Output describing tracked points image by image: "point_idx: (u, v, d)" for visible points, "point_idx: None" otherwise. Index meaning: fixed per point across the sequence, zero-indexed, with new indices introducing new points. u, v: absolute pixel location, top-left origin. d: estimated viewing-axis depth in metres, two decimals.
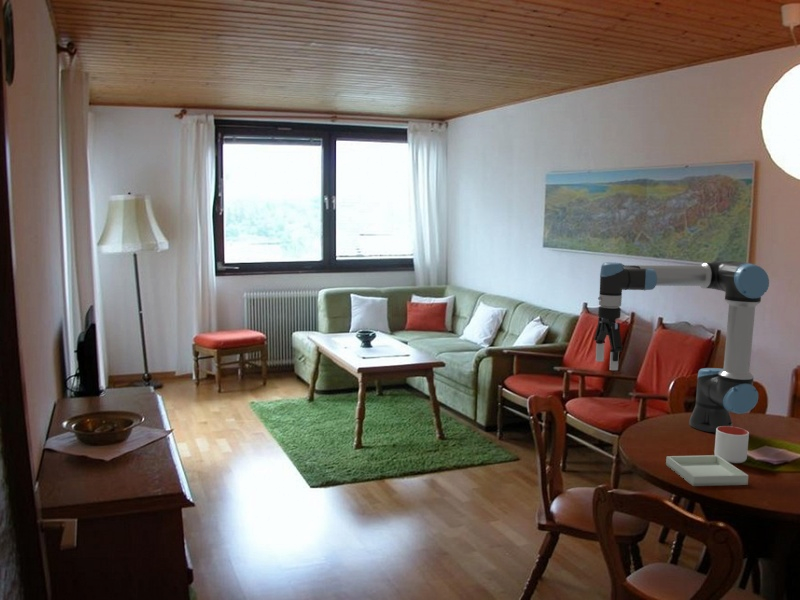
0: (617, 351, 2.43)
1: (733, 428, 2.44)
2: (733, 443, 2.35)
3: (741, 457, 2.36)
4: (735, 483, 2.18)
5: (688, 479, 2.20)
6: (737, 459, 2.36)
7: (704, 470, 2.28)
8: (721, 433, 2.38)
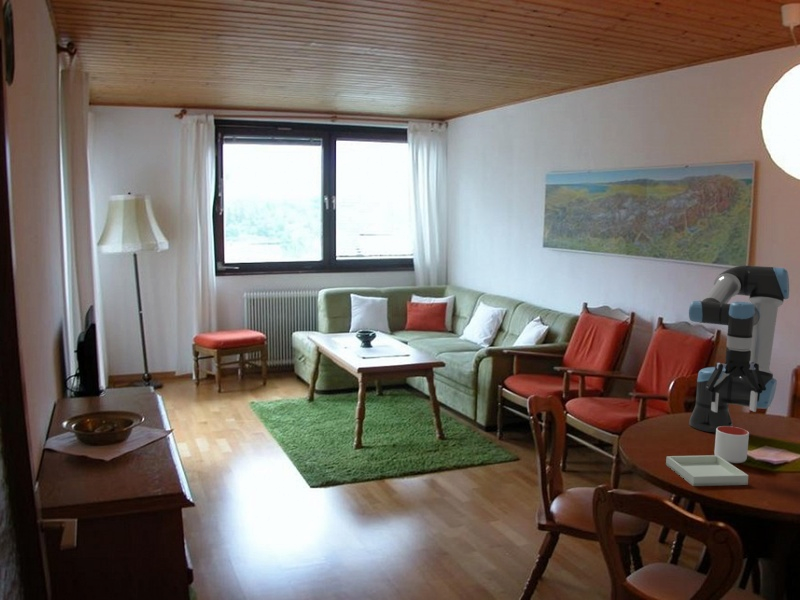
0: (708, 390, 2.37)
1: (733, 428, 2.44)
2: (733, 443, 2.35)
3: (741, 457, 2.36)
4: (735, 483, 2.18)
5: (688, 479, 2.20)
6: (737, 459, 2.36)
7: (704, 470, 2.28)
8: (721, 433, 2.38)
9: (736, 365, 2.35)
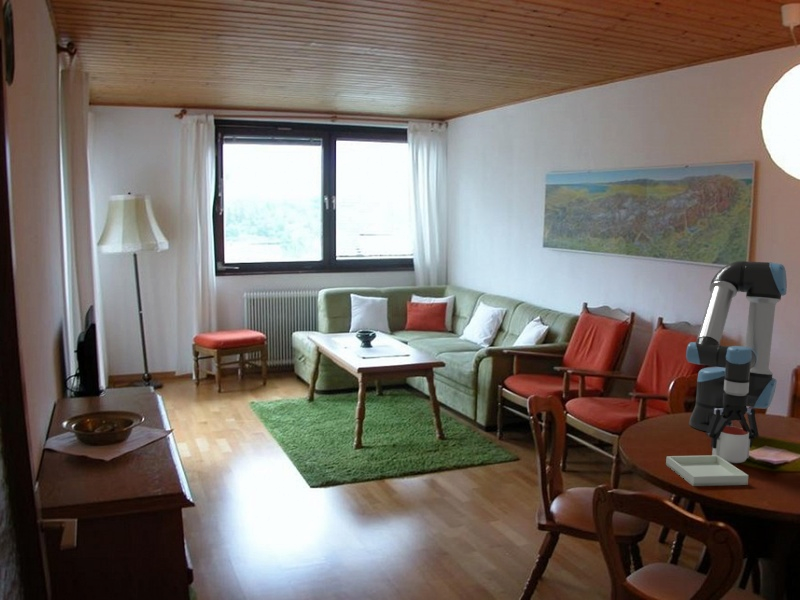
0: (710, 436, 2.39)
1: (733, 428, 2.44)
2: (733, 443, 2.35)
3: (741, 457, 2.36)
4: (735, 483, 2.18)
5: (688, 479, 2.20)
6: (737, 459, 2.36)
7: (704, 470, 2.28)
8: (721, 433, 2.38)
9: (733, 408, 2.37)
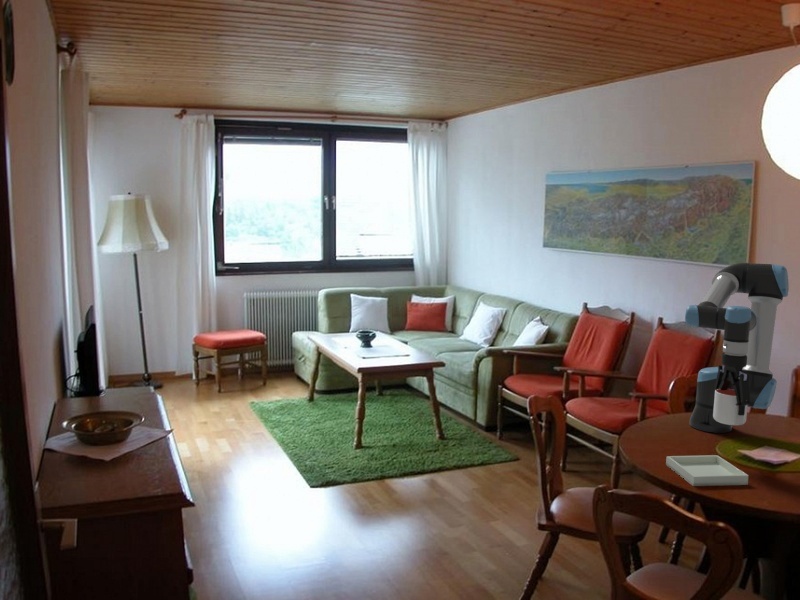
0: (744, 405, 2.27)
1: None
2: None
3: None
4: (735, 483, 2.18)
5: (688, 479, 2.20)
6: None
7: (704, 470, 2.28)
8: None
9: None
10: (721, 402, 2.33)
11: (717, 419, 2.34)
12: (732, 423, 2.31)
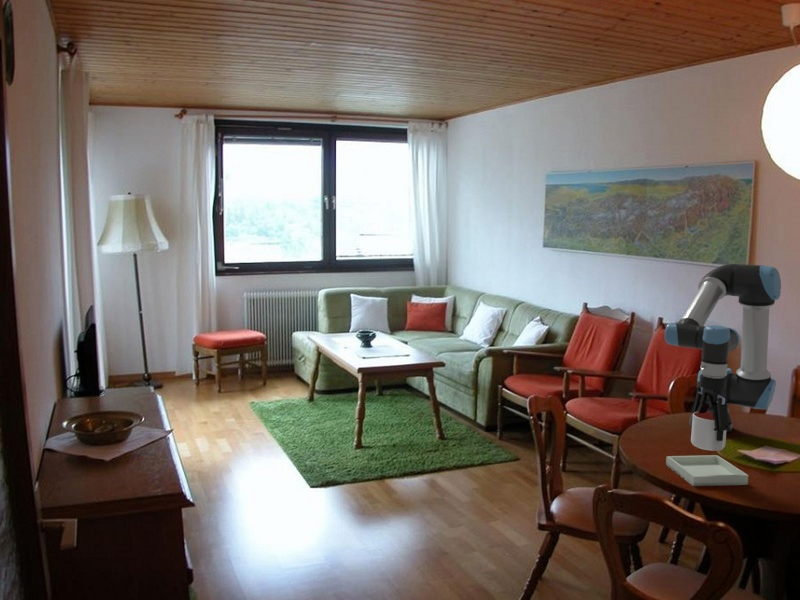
0: (722, 430, 2.16)
1: (693, 415, 2.26)
2: None
3: None
4: (735, 483, 2.18)
5: (688, 479, 2.20)
6: None
7: (704, 470, 2.28)
8: None
9: None
10: (699, 426, 2.22)
11: (695, 444, 2.23)
12: (710, 448, 2.20)
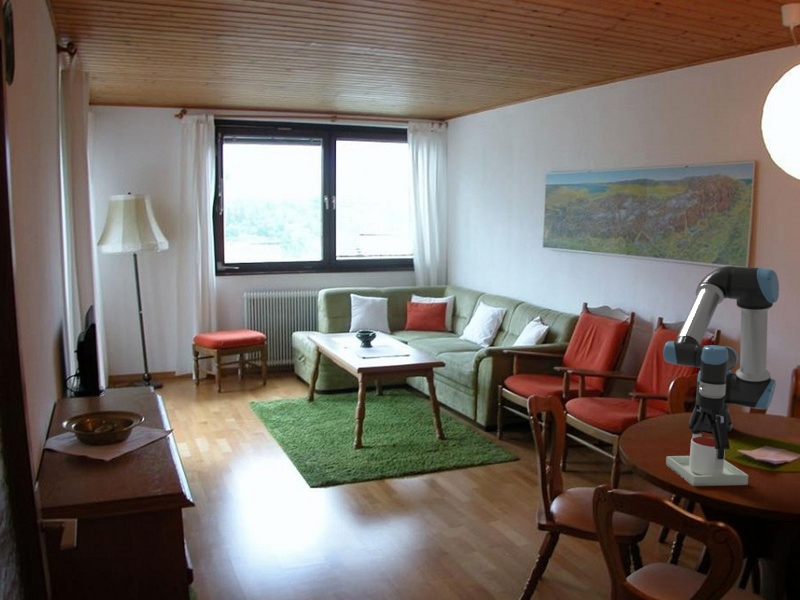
0: (724, 449, 2.16)
1: (692, 440, 2.27)
2: None
3: None
4: (735, 483, 2.18)
5: (688, 479, 2.20)
6: None
7: None
8: None
9: None
10: (697, 452, 2.23)
11: (693, 470, 2.25)
12: None
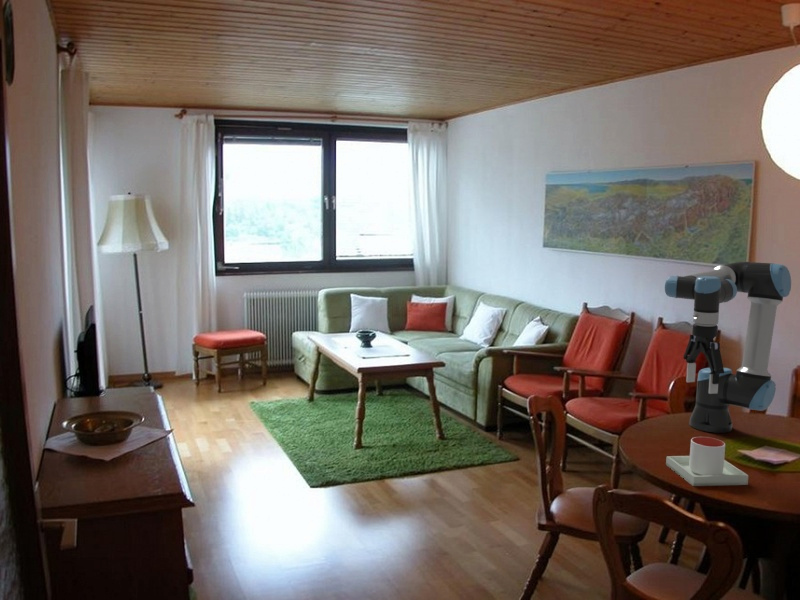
0: (718, 373, 2.25)
1: (692, 440, 2.27)
2: None
3: None
4: (735, 483, 2.18)
5: (688, 479, 2.20)
6: None
7: None
8: (720, 448, 2.21)
9: None
10: (697, 452, 2.23)
11: (693, 470, 2.25)
12: None
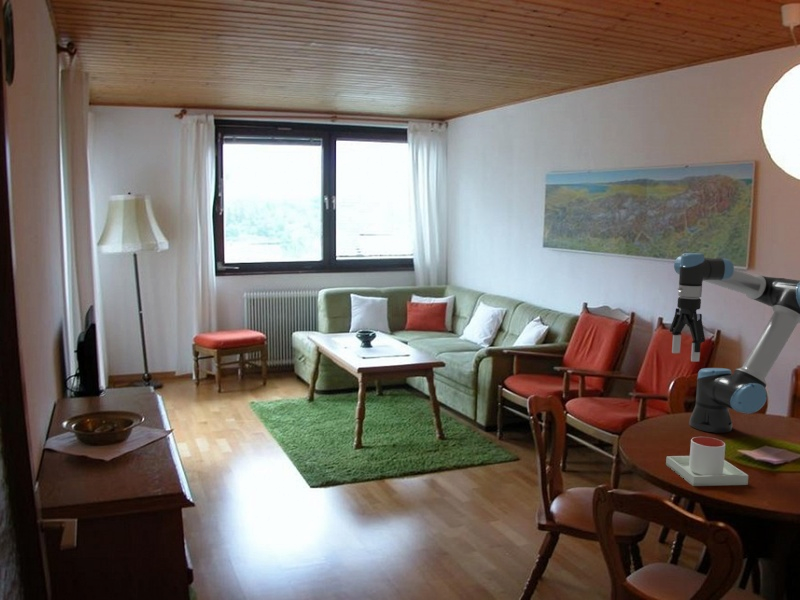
0: (700, 342, 2.41)
1: (692, 440, 2.27)
2: None
3: None
4: (735, 483, 2.18)
5: (688, 479, 2.20)
6: None
7: None
8: (720, 448, 2.21)
9: None
10: (697, 452, 2.23)
11: (693, 470, 2.25)
12: None
